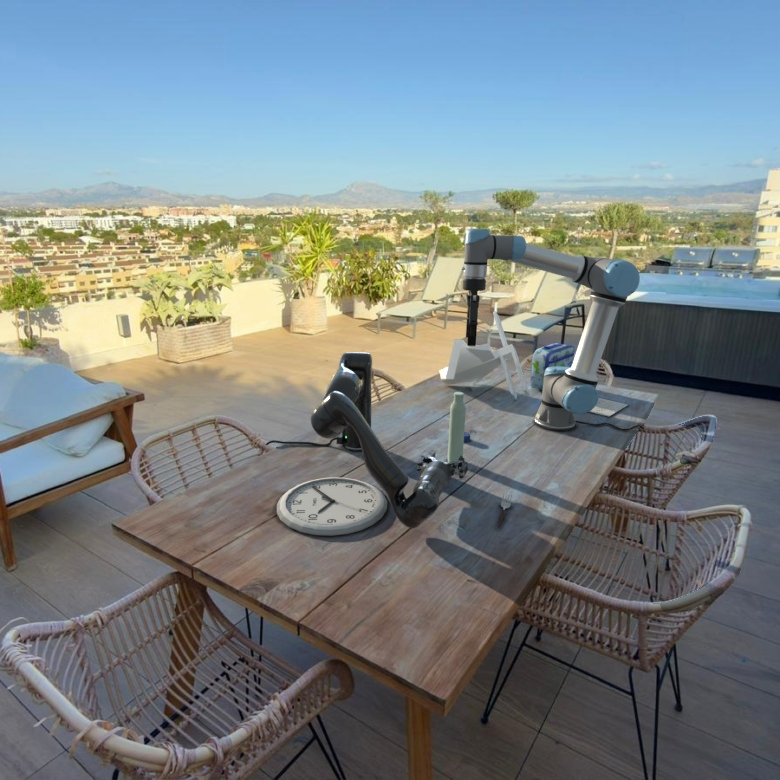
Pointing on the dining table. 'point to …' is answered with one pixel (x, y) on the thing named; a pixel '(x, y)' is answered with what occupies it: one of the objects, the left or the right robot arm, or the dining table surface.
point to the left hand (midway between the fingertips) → (447, 456)
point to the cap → (466, 437)
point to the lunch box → (549, 361)
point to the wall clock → (331, 506)
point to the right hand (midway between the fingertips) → (470, 341)
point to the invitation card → (607, 407)
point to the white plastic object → (482, 362)
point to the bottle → (456, 427)
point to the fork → (504, 505)
